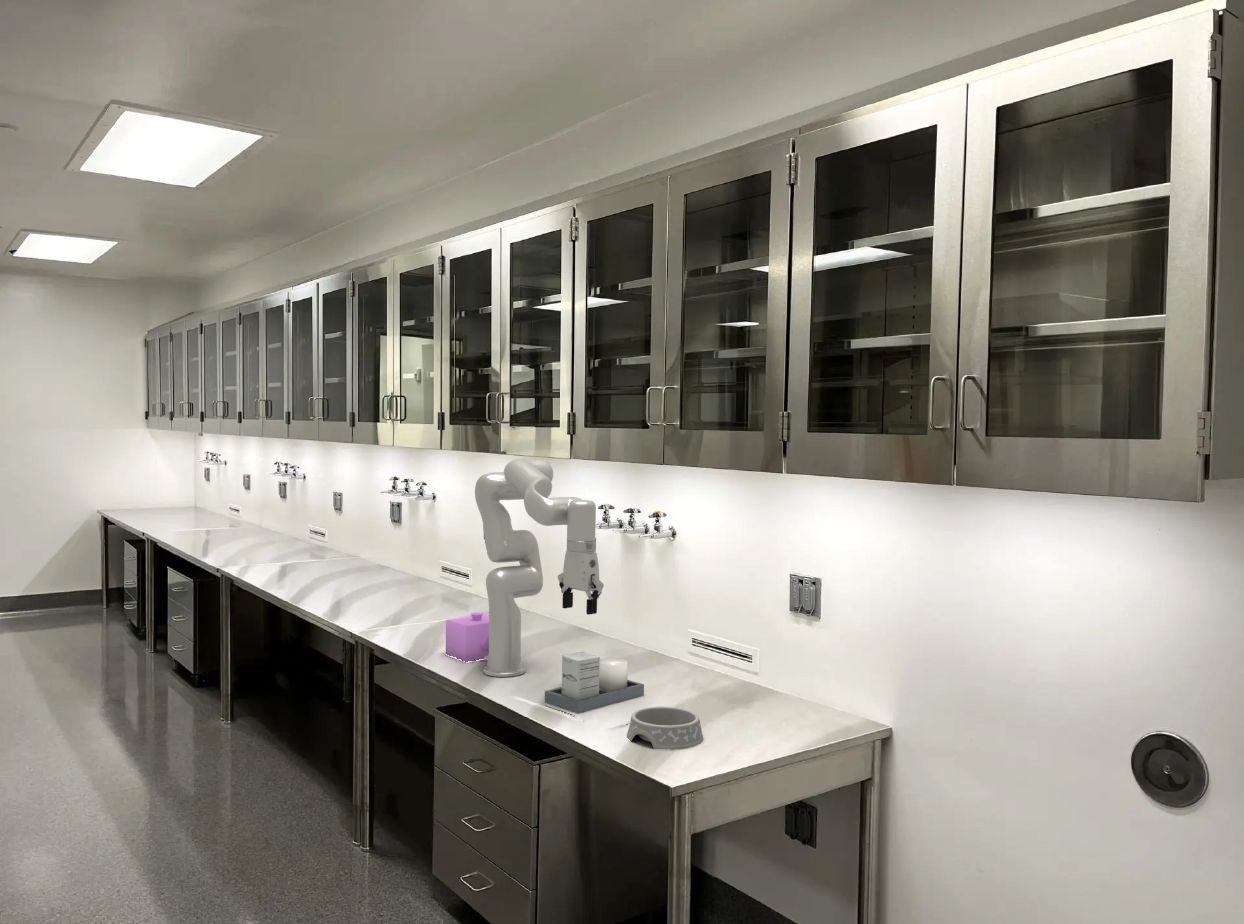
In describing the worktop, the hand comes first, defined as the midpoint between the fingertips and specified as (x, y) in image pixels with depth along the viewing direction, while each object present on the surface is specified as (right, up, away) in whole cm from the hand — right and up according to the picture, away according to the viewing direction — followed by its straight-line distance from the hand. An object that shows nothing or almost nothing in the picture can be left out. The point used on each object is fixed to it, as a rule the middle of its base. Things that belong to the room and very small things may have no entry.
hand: (579, 610), depth 241 cm
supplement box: (0, -24, -3) cm, 24 cm away
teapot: (-35, -23, +50) cm, 65 cm away
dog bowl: (+22, -26, -25) cm, 42 cm away
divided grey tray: (+4, -25, +1) cm, 25 cm away
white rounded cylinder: (+9, -24, +6) cm, 26 cm away
